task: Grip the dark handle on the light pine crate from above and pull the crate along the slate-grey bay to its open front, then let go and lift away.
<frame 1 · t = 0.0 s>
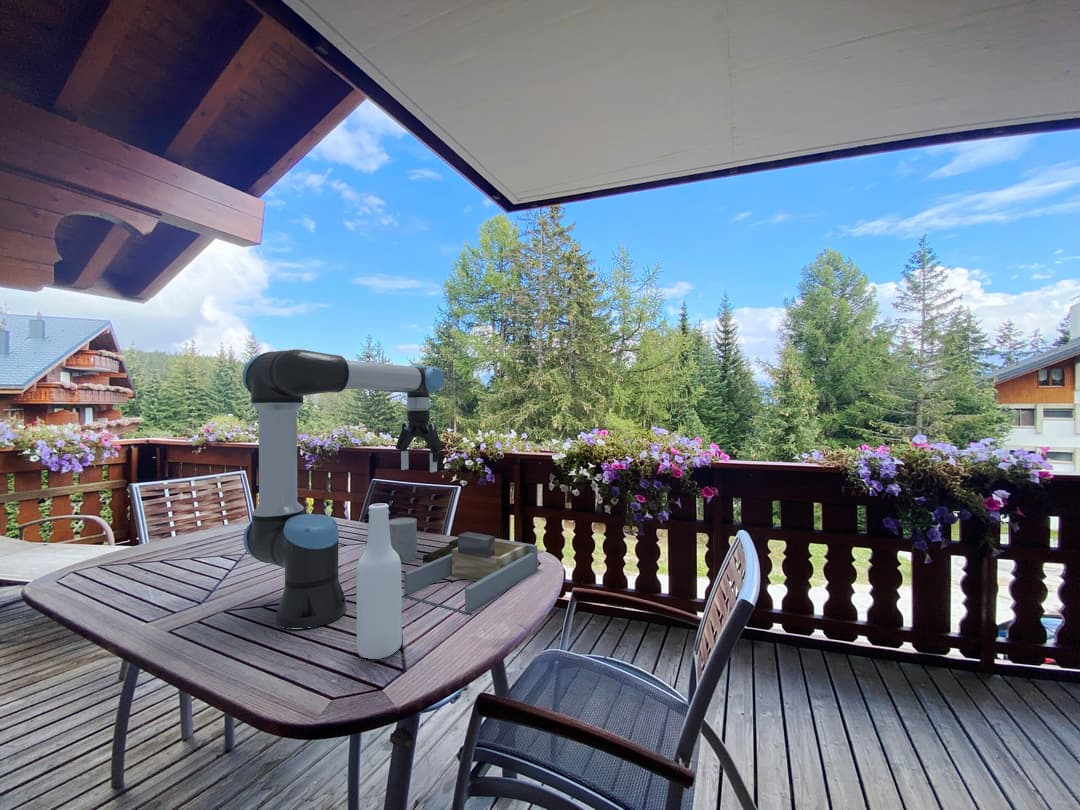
hand: (418, 470, 160), 28 cm above the table, tool pointing down, fingers open, 13 cm apart
alcohol: (379, 651, 95), on the table
crate: (488, 552, 134), point 7 cm above the table, slide at 0.0 cm
grey cylindrical piece: (402, 558, 153), on the table
bay: (475, 585, 129), on the table
hand tool: (443, 558, 153), on the table
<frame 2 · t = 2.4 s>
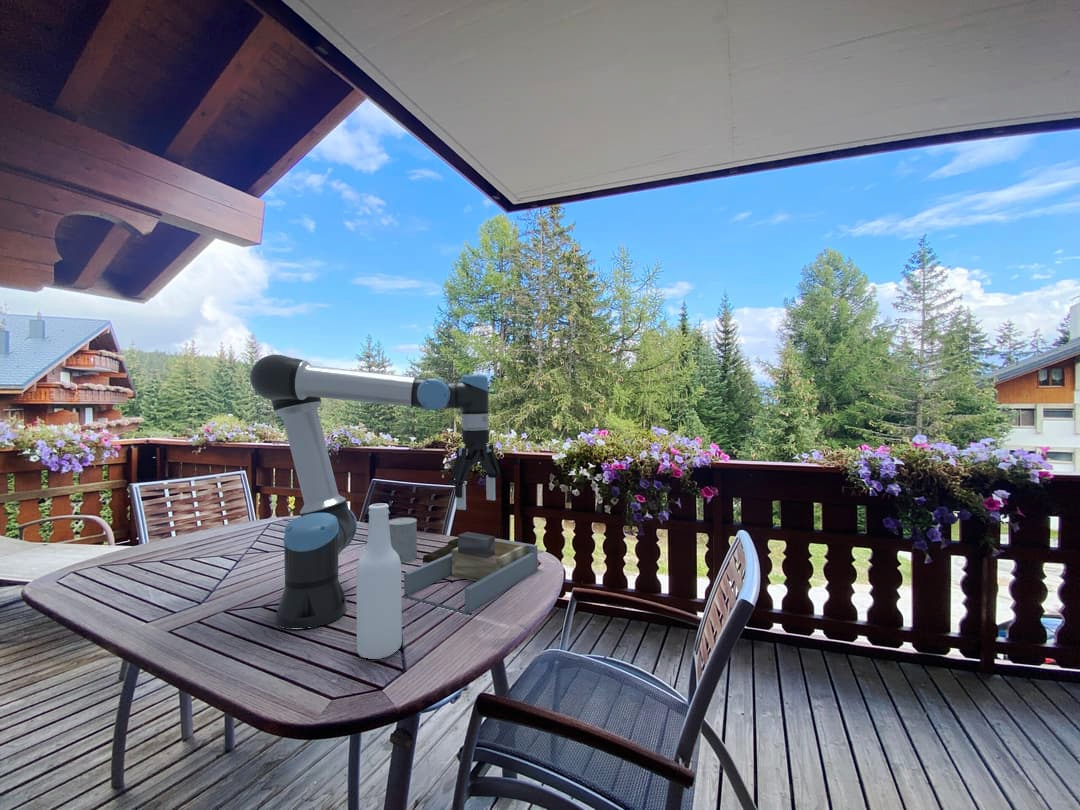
hand: (476, 504, 129), 23 cm above the table, tool pointing down, fingers open, 13 cm apart
nothing on the table moved.
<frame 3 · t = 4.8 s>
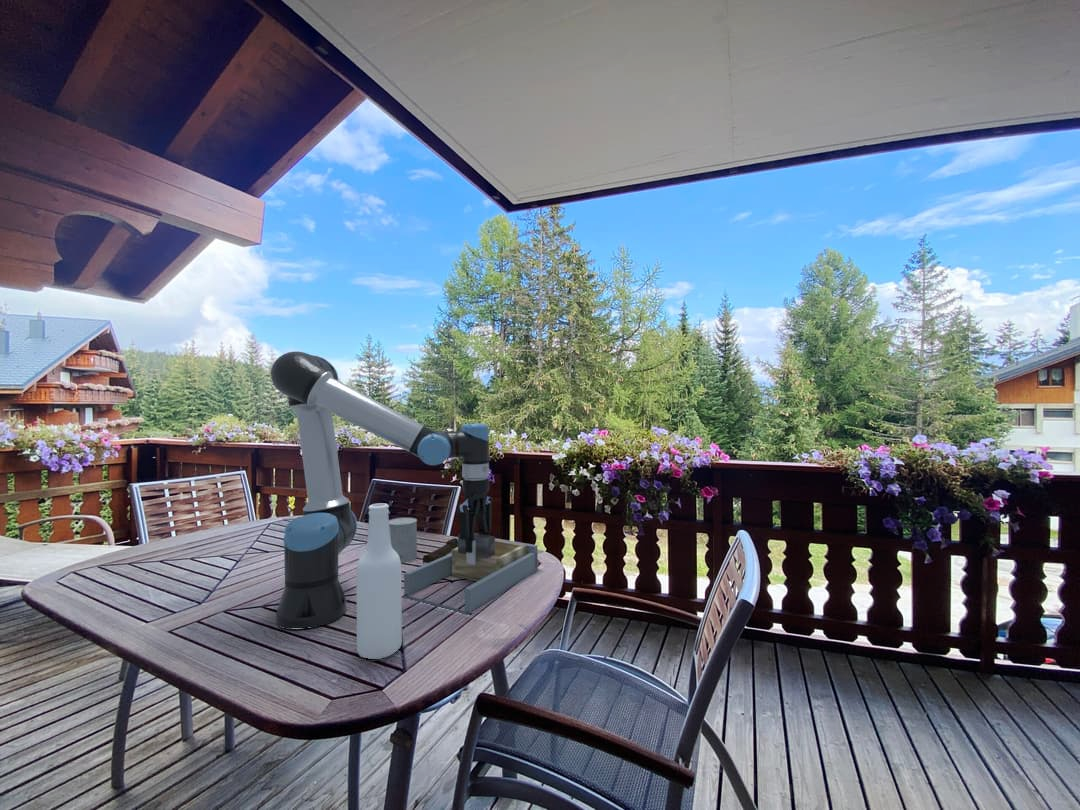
hand: (476, 560, 129), 7 cm above the table, tool pointing down, fingers closed on crate, 4 cm apart
crate: (488, 552, 134), point 7 cm above the table, slide at 0.0 cm, touching gripper
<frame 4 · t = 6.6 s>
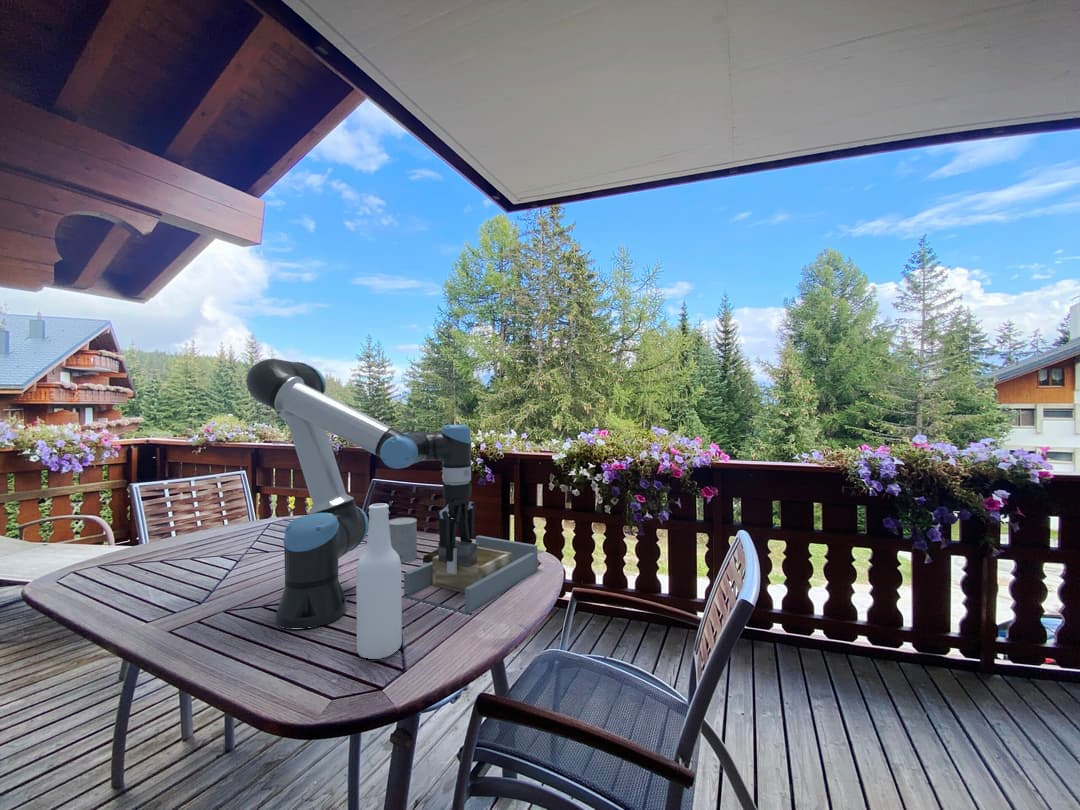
hand: (457, 569, 122), 7 cm above the table, tool pointing down, fingers closed on crate, 4 cm apart
crate: (471, 560, 127), point 7 cm above the table, slide at 8.1 cm, touching gripper
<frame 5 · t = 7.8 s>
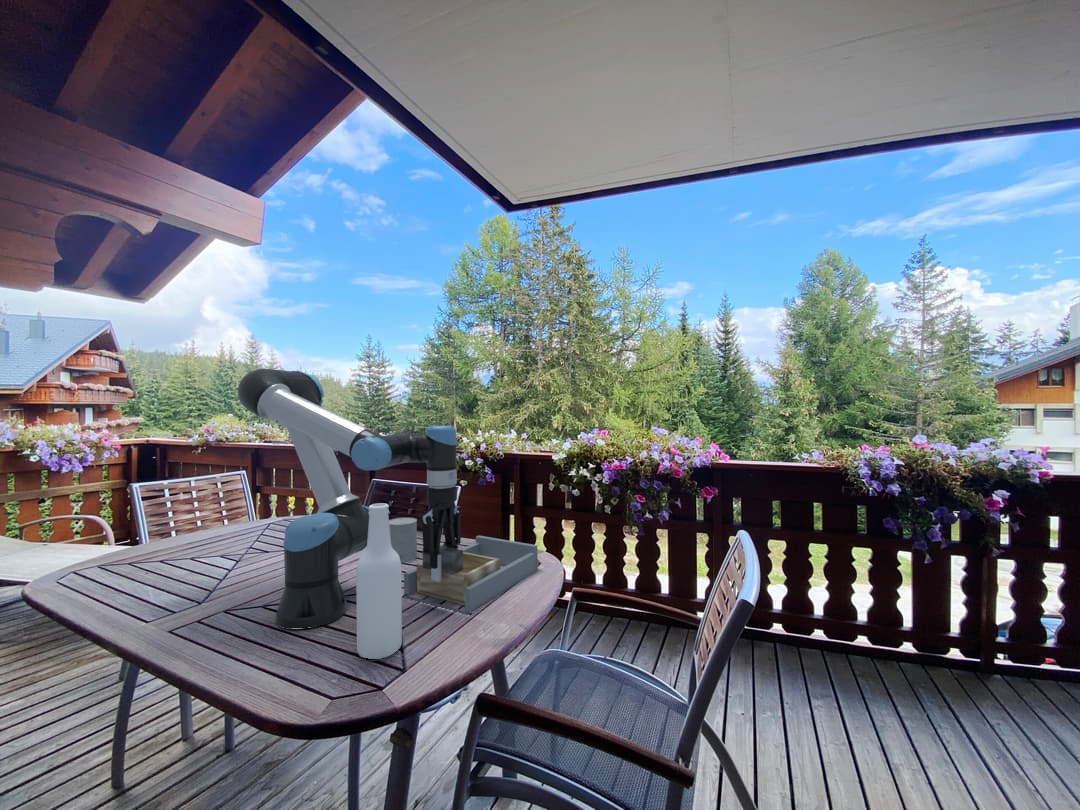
hand: (442, 576, 117), 7 cm above the table, tool pointing down, fingers closed on crate, 4 cm apart
crate: (457, 566, 122), point 7 cm above the table, slide at 13.9 cm, touching gripper
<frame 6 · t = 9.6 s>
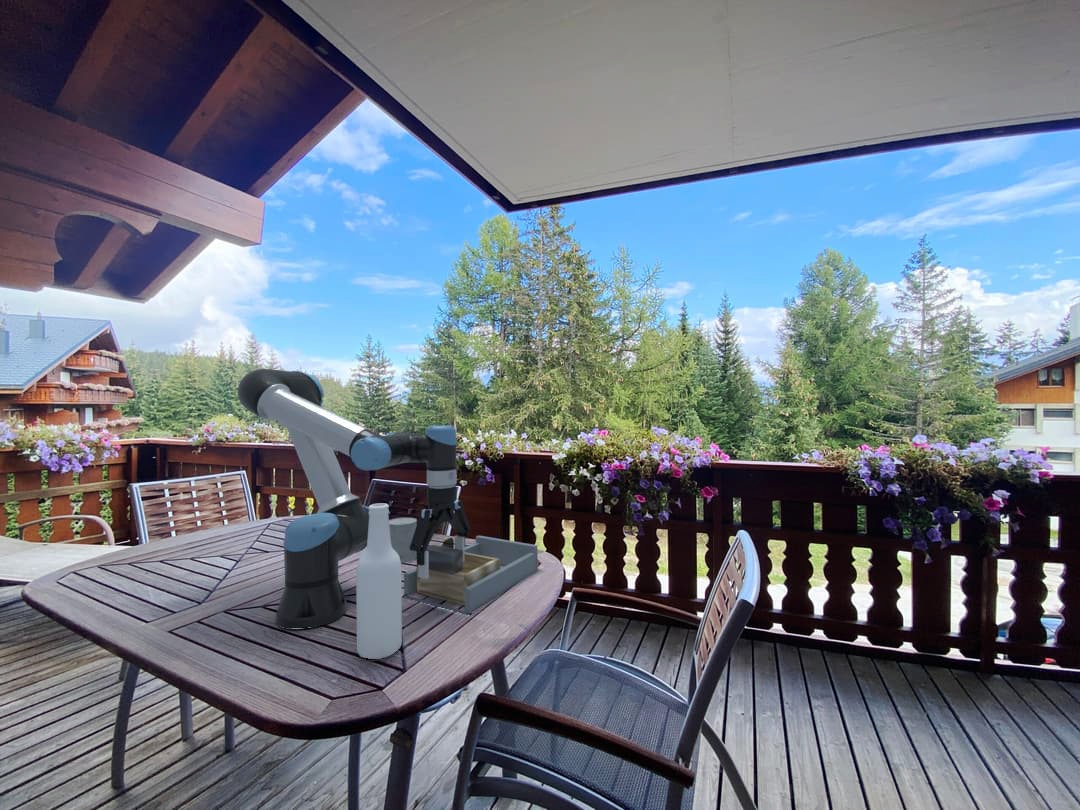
hand: (442, 568, 117), 9 cm above the table, tool pointing down, fingers open, 13 cm apart
crate: (457, 567, 122), point 7 cm above the table, slide at 14.0 cm
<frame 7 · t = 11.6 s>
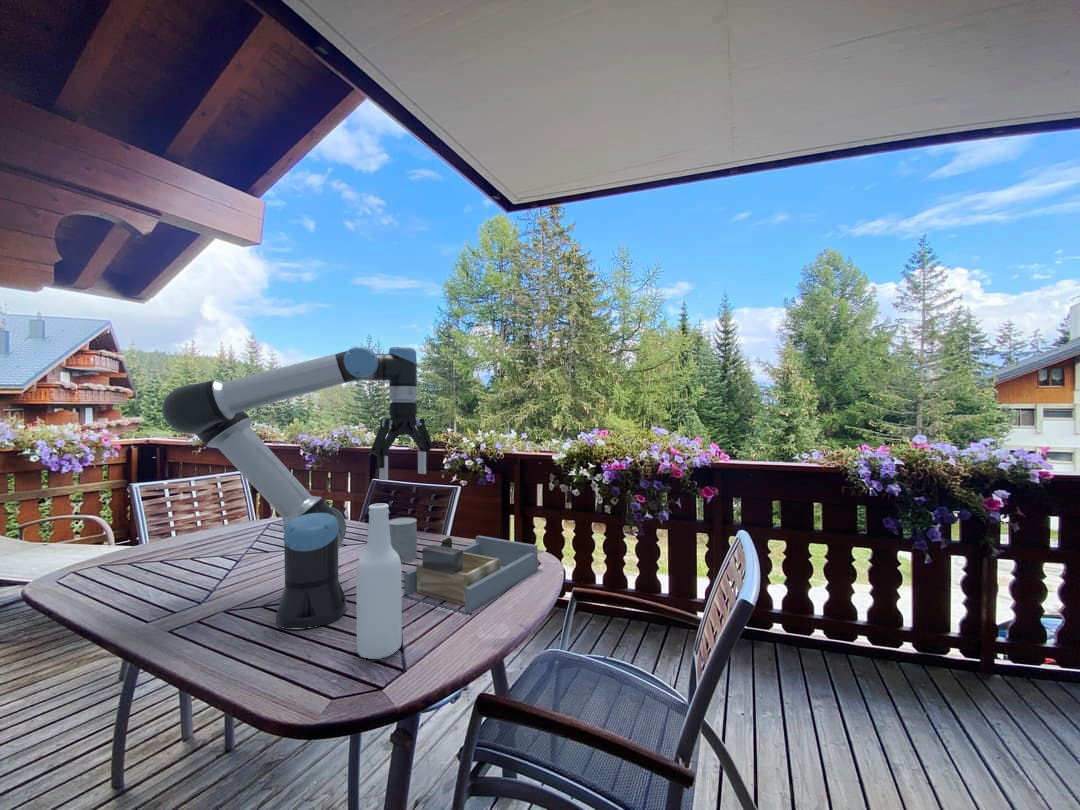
hand: (403, 476, 130), 30 cm above the table, tool pointing down, fingers open, 13 cm apart
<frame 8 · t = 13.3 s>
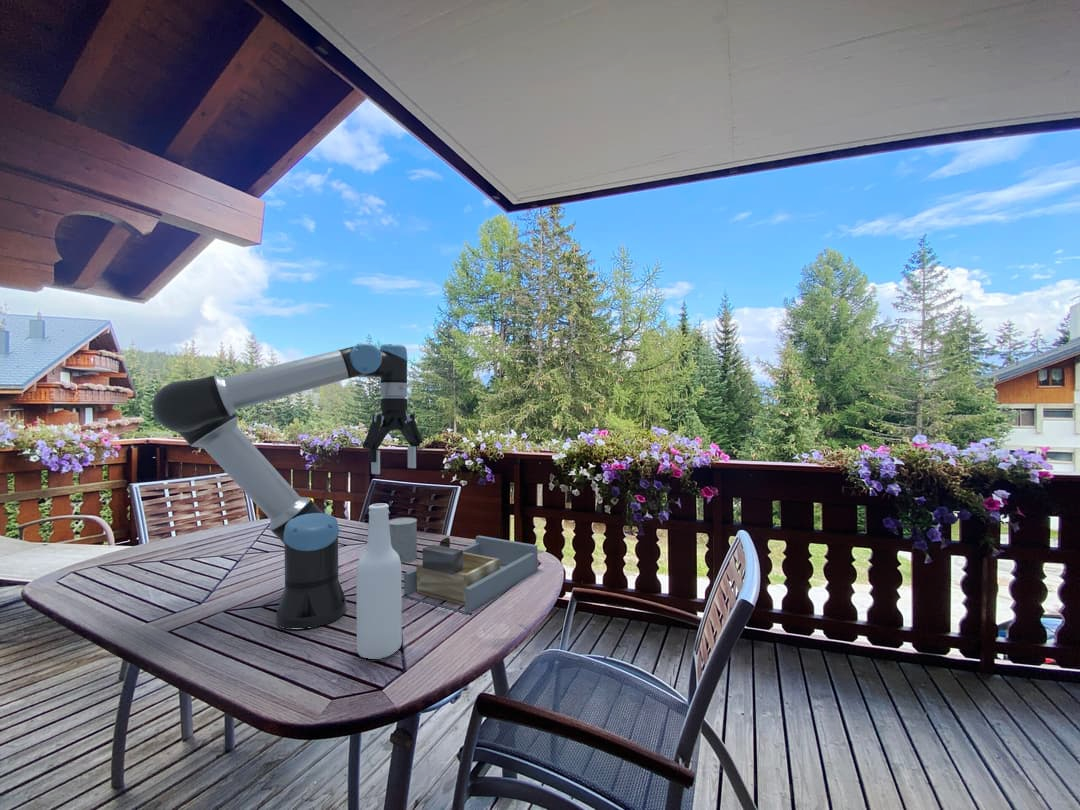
hand: (394, 470, 133), 32 cm above the table, tool pointing down, fingers open, 13 cm apart
at the end: crate slide at 14.0 cm; the gripper is holding nothing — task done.
